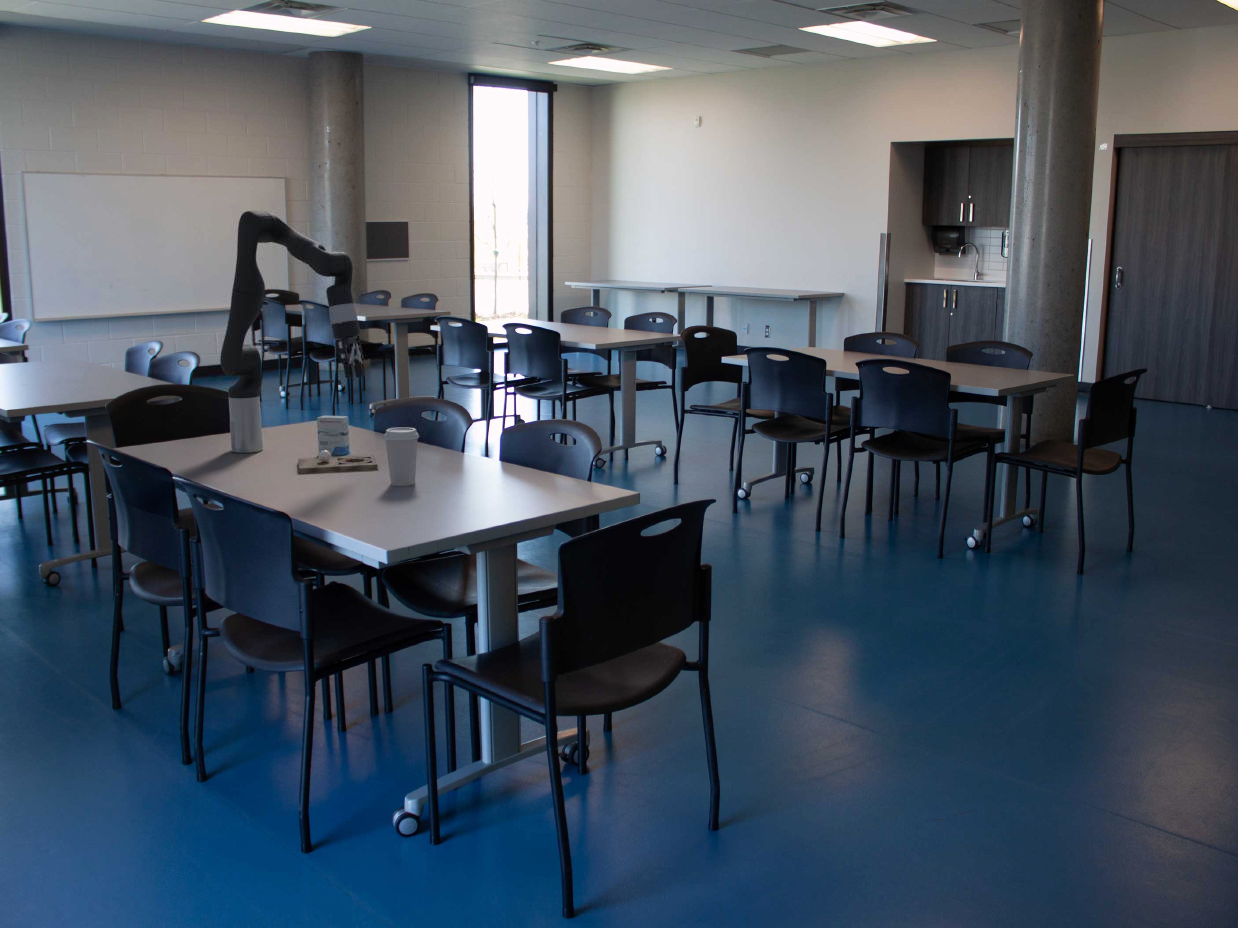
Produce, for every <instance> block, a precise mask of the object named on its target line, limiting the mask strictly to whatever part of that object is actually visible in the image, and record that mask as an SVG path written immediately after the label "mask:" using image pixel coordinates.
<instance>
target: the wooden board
mask: <svg viewBox="0 0 1238 928" xmlns="http://www.w3.org/2000/svg"><path fill="white" fill-rule="evenodd" d="M297 464H298V473H299V474H317V473H318V474H319V473H337V472H338V473H339V471H340V472H354V471H356V470H359V471H374V470H375V471H376V470H378V469H379V468H378V467H379V464H378V462H377V460H376V458H375V455H374V454H367V455H365V454H363V455H340V456H331V459H330V460H329V461H328V462H322V461H321V460H320V459H319V457H307V458H306V457H303V458H301V457H299V458H297Z"/></svg>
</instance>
